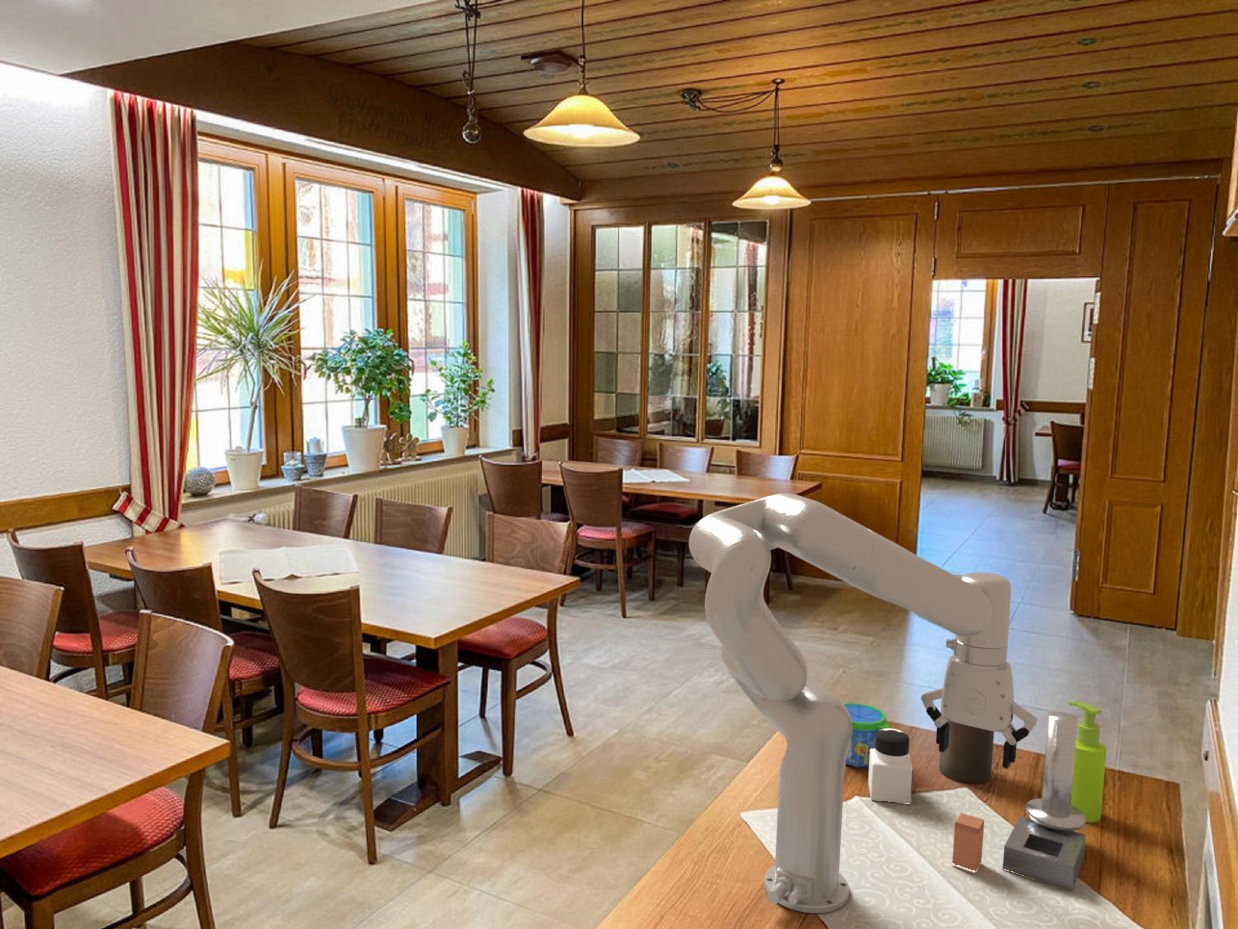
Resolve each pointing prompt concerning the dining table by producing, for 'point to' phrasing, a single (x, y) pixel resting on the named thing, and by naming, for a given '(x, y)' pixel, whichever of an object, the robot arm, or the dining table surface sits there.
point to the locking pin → (968, 841)
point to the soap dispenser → (1088, 765)
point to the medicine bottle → (890, 767)
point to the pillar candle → (967, 754)
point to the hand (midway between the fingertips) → (974, 757)
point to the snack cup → (864, 732)
